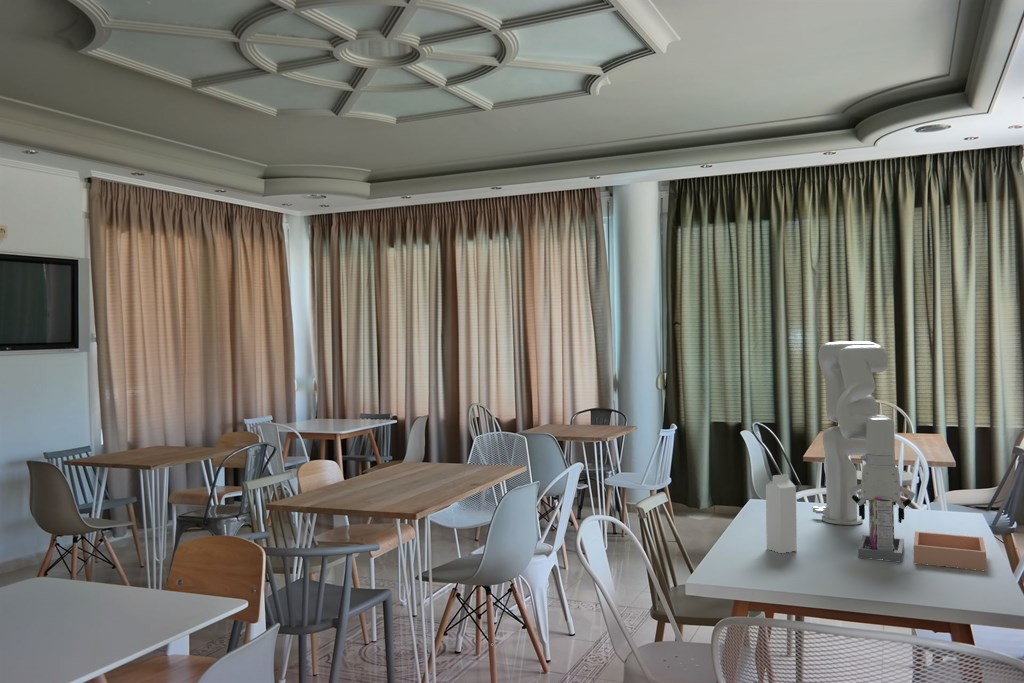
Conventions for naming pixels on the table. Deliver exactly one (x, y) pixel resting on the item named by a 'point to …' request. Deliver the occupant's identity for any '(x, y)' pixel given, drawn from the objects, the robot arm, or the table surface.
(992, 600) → the table surface
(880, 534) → the candy bar box
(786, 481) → the milk
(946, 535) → the salmon hollow open box
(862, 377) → the robot arm
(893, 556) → the tray
